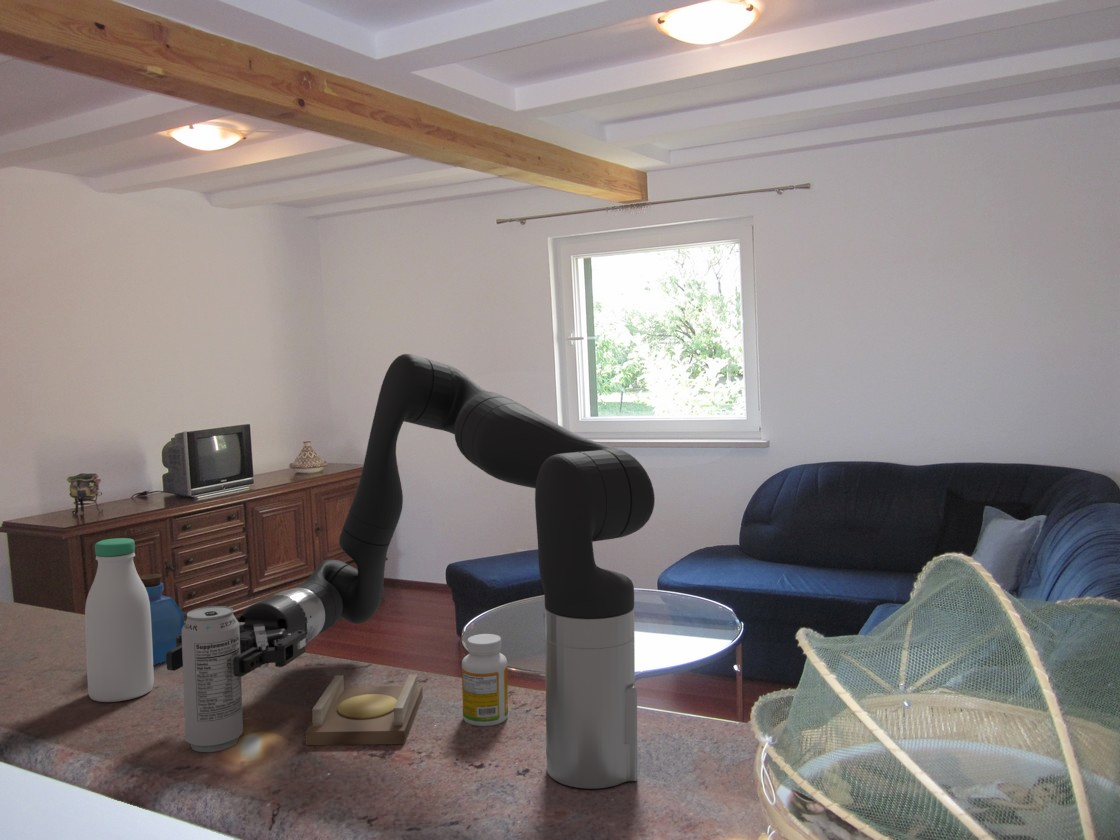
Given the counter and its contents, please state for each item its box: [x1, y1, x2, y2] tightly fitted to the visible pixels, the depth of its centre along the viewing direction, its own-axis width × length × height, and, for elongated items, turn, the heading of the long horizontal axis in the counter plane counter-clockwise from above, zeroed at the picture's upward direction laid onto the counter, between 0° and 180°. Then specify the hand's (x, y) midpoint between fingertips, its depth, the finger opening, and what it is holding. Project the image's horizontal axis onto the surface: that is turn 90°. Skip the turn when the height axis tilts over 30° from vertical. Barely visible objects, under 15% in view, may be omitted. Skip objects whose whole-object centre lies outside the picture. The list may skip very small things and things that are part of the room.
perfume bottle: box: [139, 573, 185, 666], centre depth 132 cm, size 6×6×12 cm
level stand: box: [305, 673, 424, 746], centre depth 109 cm, size 11×14×4 cm
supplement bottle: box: [461, 633, 509, 727], centre depth 109 cm, size 5×5×10 cm
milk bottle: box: [84, 537, 155, 703], centre depth 118 cm, size 8×8×20 cm
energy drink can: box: [181, 605, 244, 753], centre depth 102 cm, size 6×6×15 cm
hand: (202, 665), depth 101 cm, fingers open, 8 cm apart
